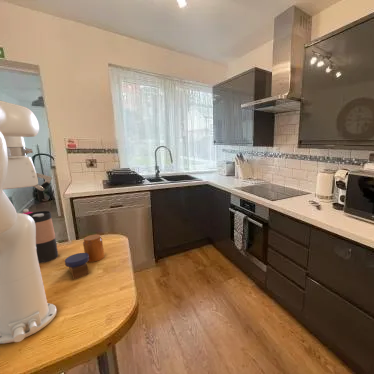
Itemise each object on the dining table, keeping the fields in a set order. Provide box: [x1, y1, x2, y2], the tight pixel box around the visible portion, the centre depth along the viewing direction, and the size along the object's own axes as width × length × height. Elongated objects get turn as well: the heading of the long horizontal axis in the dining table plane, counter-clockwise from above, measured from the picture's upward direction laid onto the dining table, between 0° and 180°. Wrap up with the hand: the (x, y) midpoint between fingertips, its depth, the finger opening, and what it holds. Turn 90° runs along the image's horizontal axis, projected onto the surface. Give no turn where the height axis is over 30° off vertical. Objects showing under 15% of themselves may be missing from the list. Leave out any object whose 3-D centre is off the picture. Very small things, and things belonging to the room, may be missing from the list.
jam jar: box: [82, 233, 105, 263], centre depth 92 cm, size 7×7×10 cm
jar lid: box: [64, 252, 89, 268], centre depth 82 cm, size 7×7×2 cm
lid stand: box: [68, 262, 90, 280], centre depth 82 cm, size 9×4×4 cm, turn 48°
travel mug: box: [27, 210, 59, 264], centre depth 89 cm, size 8×8×20 cm
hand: (21, 204), depth 72 cm, fingers open, 9 cm apart
